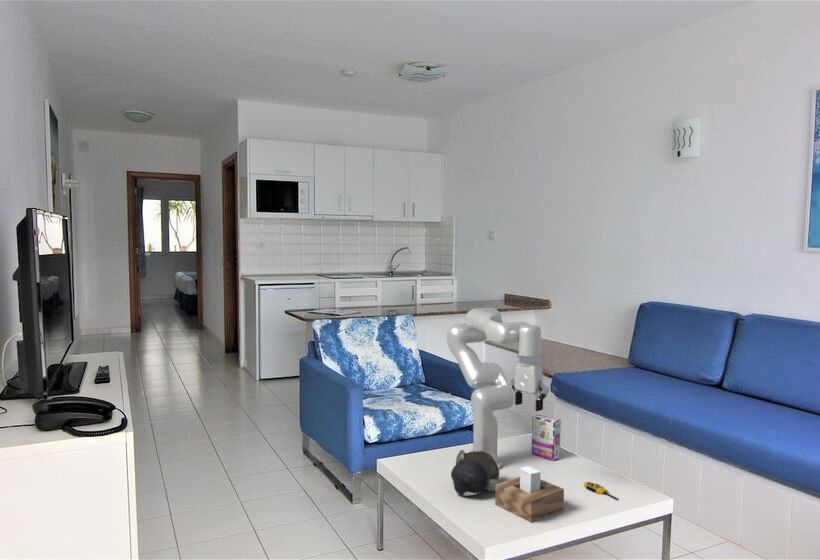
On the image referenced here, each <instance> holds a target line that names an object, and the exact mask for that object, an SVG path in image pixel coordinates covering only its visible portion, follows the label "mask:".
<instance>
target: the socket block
mask: <svg viewBox="0 0 820 560" xmlns="http://www.w3.org/2000/svg"><path fill="white" fill-rule="evenodd" d="M494 493H495V497H494V498H495V500H494V504H495V506H497V507H499V508H501V509H503V510H505V511H507V512H509V513H510V514H513V515H516V516H518V517H519V518H521V519H523V520H525V521H527V522H529V523H533V522H536V521H538V520H541V519H543V518H545V517H548V516H550V515H553V514H555V513H558V512H560V511H563V510H564V508H565V506H564V505H565V503H564V502H565V501H564V500H565V499H564V498H565V488H563V487H560V486H557V485H555V484H554V483H551V482H549V481H546V480H544V479H541V478H540V490H539V491H537V492H534V493H531V494H530V493H528V492H525V491H523V490H521V489H520V476H518V477H514V478H511V479H509V480H506V481H502V483H499V484H496V491H494Z"/></svg>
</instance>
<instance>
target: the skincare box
mask: <svg viewBox="0 0 820 560" xmlns="http://www.w3.org/2000/svg"><path fill="white" fill-rule="evenodd" d="M519 474H520V475H519V477H520V489H521V490H523V491H525V492H528V493H530V494H531V493H534V492H537V491H539V490H540V479H541V471H540V470H538V469H536V468H535V467H532V466H530V465H528V466H523V467H519Z"/></svg>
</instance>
